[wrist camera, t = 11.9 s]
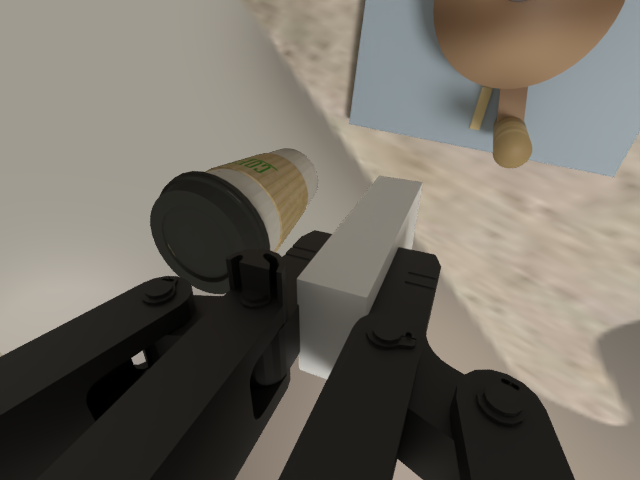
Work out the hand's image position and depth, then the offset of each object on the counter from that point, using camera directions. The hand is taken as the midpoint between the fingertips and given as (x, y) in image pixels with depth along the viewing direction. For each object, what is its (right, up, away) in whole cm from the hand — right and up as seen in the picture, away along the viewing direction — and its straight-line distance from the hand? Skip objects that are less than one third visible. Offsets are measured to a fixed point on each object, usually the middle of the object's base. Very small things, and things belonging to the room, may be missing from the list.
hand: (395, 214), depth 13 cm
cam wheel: (+10, +13, +11) cm, 19 cm away
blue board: (+11, +16, +11) cm, 22 cm away
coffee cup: (-6, +6, +25) cm, 26 cm away
